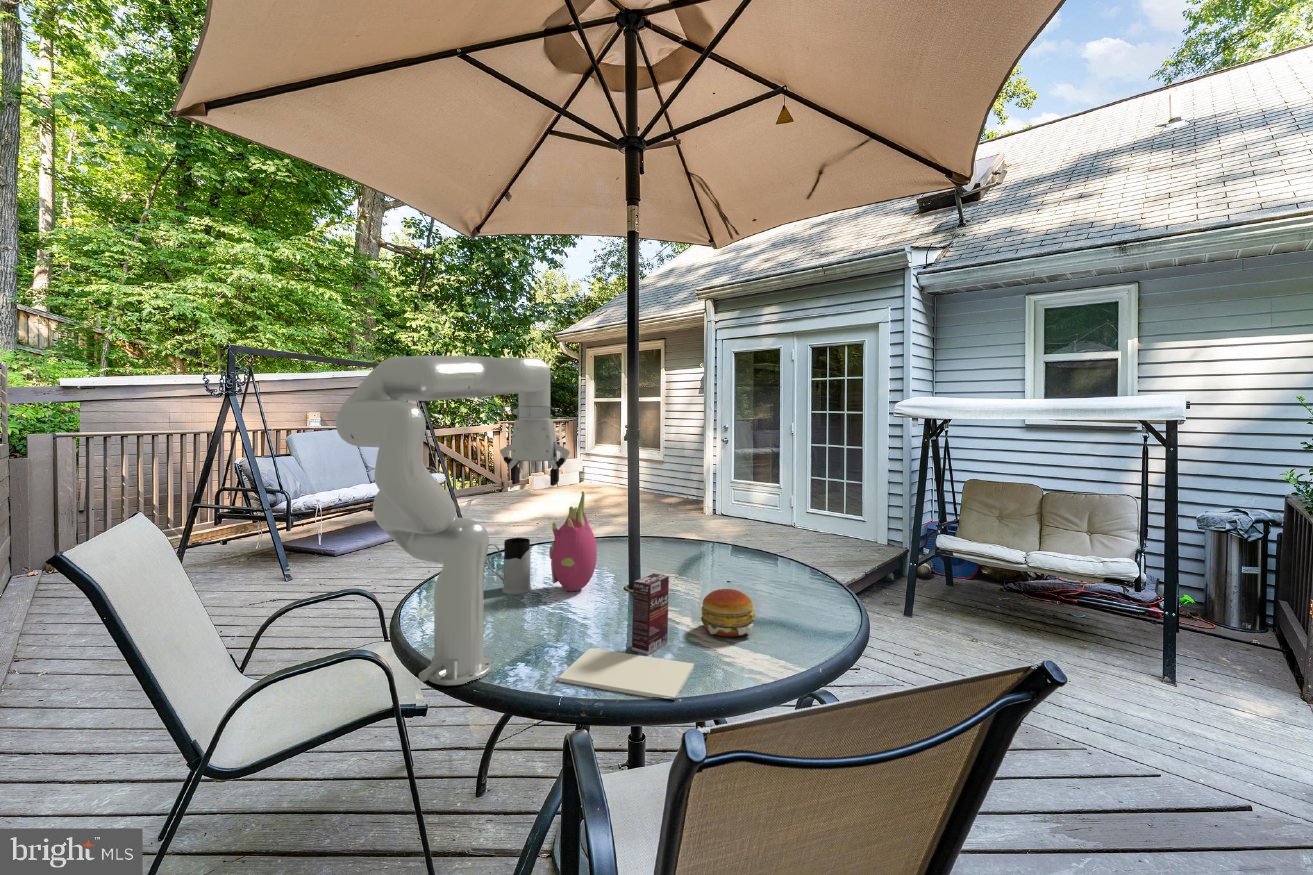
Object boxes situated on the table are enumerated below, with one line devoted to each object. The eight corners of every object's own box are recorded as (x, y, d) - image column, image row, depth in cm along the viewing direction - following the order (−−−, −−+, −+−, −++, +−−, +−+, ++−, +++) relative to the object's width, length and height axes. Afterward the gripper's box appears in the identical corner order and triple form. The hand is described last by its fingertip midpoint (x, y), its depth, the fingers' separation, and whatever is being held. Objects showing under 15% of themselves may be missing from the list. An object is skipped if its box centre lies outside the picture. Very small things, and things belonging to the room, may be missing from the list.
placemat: (674, 701, 104) (674, 697, 104) (558, 681, 112) (558, 677, 112) (693, 667, 119) (694, 663, 119) (589, 651, 126) (589, 647, 126)
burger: (723, 616, 149) (724, 579, 149) (766, 631, 140) (767, 591, 139) (689, 629, 140) (690, 590, 139) (732, 646, 130) (733, 603, 130)
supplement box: (649, 656, 124) (649, 584, 123) (631, 650, 127) (631, 581, 126) (669, 642, 131) (670, 575, 131) (651, 638, 134) (652, 572, 133)
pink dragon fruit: (561, 580, 180) (561, 487, 179) (602, 582, 178) (603, 488, 177) (542, 598, 162) (542, 494, 161) (588, 601, 160) (588, 496, 159)
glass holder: (527, 594, 166) (528, 543, 165) (479, 593, 166) (480, 543, 165) (534, 585, 174) (534, 537, 174) (489, 584, 175) (489, 536, 174)
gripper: (494, 413, 133) (494, 485, 134) (564, 414, 131) (564, 487, 132) (507, 413, 141) (507, 481, 142) (573, 414, 138) (573, 483, 139)
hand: (534, 484), depth 137 cm, fingers open, 9 cm apart
